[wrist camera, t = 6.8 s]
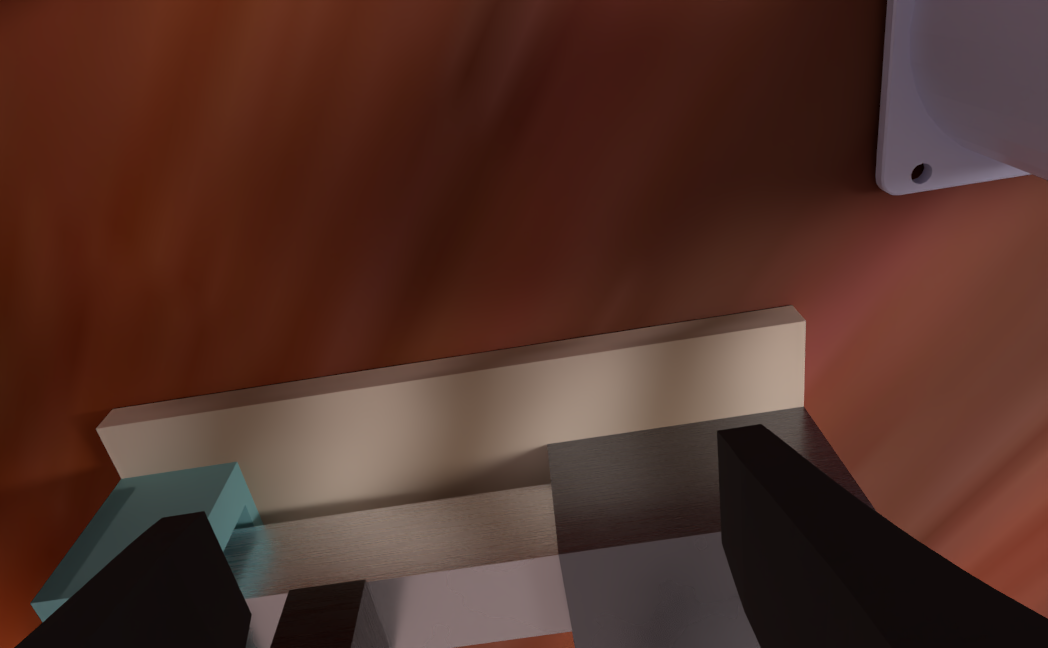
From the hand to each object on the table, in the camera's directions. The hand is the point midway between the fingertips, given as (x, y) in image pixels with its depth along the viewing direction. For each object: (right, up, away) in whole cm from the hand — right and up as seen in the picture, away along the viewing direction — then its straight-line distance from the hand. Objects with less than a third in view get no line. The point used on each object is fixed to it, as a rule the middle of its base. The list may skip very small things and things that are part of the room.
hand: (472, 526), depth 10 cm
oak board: (-1, -3, +13) cm, 13 cm away
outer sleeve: (+5, -2, +13) cm, 14 cm away
